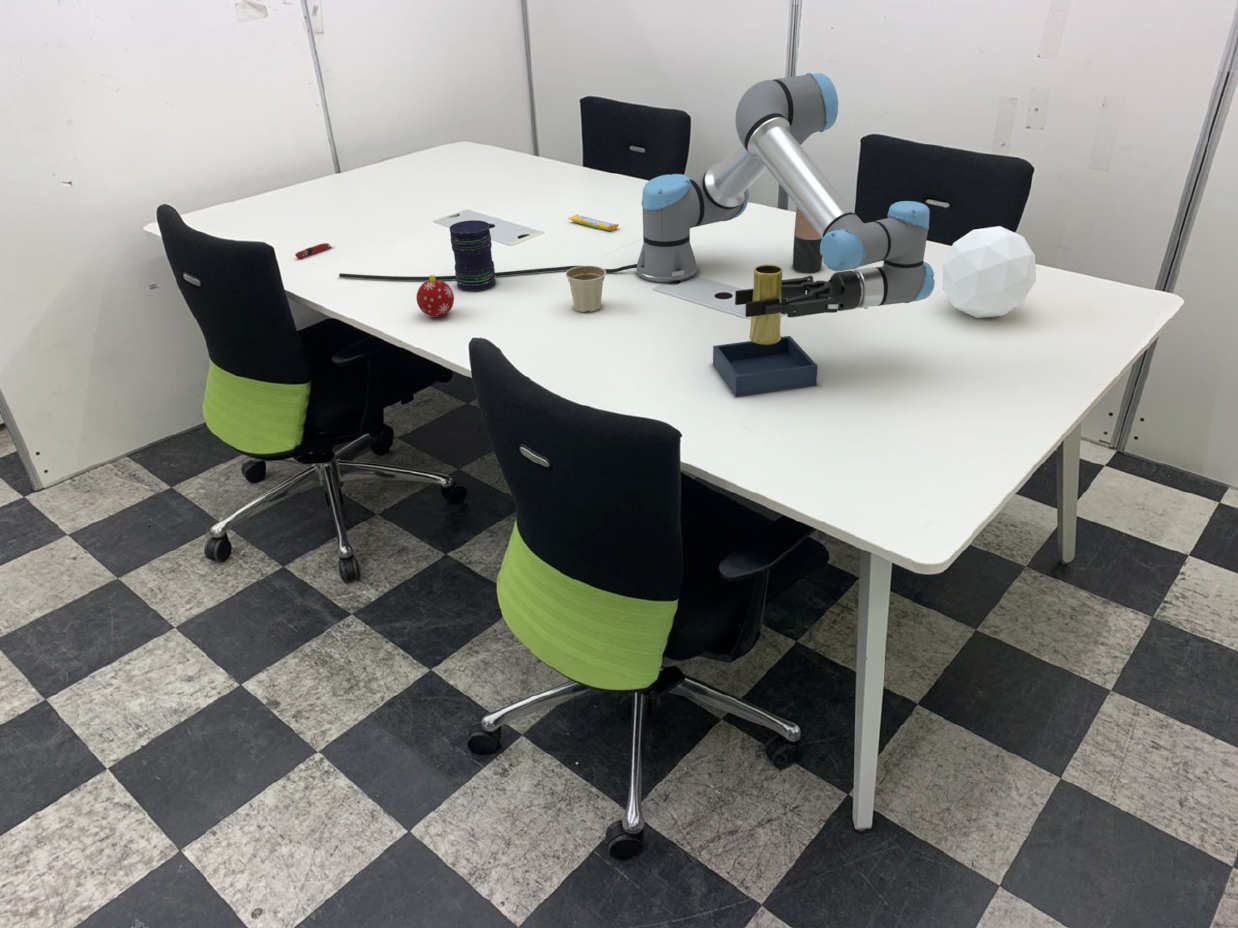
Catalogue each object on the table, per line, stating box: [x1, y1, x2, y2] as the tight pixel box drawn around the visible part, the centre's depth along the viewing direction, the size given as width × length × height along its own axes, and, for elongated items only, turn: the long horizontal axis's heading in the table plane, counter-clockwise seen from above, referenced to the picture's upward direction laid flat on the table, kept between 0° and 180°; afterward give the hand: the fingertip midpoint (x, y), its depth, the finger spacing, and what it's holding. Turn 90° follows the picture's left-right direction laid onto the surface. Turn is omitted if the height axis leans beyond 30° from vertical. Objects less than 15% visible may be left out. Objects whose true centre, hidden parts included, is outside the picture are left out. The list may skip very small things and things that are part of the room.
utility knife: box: [294, 242, 332, 260], centre depth 259 cm, size 12×1×2 cm, turn 143°
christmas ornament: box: [416, 274, 455, 318], centre depth 216 cm, size 9×9×10 cm
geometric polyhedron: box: [941, 225, 1037, 319], centre depth 204 cm, size 19×20×20 cm
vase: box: [748, 264, 783, 345], centre depth 179 cm, size 6×6×14 cm
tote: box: [712, 335, 819, 398], centre depth 186 cm, size 17×15×4 cm
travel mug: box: [792, 206, 823, 274], centre depth 231 cm, size 8×8×20 cm
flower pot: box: [565, 265, 607, 313], centre depth 217 cm, size 9×9×9 cm
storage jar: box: [449, 219, 497, 293], centre depth 231 cm, size 10×10×15 cm
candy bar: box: [568, 214, 620, 232], centre depth 270 cm, size 17×4×2 cm, turn 49°
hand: (741, 303), depth 178 cm, fingers closed on vase, 5 cm apart
